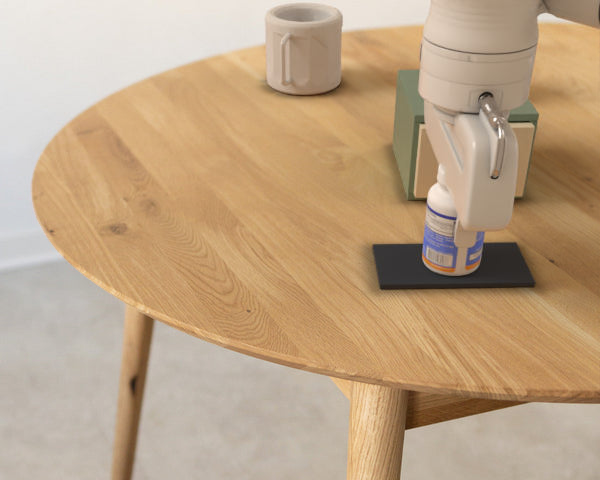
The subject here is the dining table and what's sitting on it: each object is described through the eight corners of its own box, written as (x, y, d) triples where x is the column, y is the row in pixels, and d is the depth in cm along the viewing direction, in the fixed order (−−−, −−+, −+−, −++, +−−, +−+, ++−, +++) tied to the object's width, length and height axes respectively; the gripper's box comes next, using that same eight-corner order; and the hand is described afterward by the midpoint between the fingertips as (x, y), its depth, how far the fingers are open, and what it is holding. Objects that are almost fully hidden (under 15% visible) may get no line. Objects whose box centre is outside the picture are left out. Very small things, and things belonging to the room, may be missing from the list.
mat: (515, 246, 76) (516, 241, 76) (534, 286, 70) (535, 282, 70) (372, 248, 76) (372, 244, 76) (379, 289, 70) (380, 284, 70)
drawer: (525, 202, 81) (538, 131, 77) (416, 203, 81) (423, 133, 77) (495, 147, 93) (505, 83, 88) (400, 148, 92) (404, 84, 88)
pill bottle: (468, 244, 75) (481, 151, 70) (488, 275, 71) (504, 178, 65) (413, 250, 75) (422, 156, 69) (431, 281, 70) (441, 183, 65)
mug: (283, 66, 119) (282, -2, 113) (350, 75, 116) (353, 5, 110) (246, 97, 108) (243, 24, 103) (319, 108, 105) (320, 32, 99)
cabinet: (523, 198, 84) (539, 113, 78) (407, 200, 84) (414, 115, 78) (495, 145, 95) (507, 68, 90) (392, 147, 95) (397, 69, 89)
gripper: (551, 124, 54) (519, 288, 62) (487, 34, 71) (468, 173, 79) (460, 125, 54) (440, 289, 62) (417, 35, 71) (406, 174, 79)
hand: (455, 223), depth 70 cm, fingers closed on pill bottle, 5 cm apart
